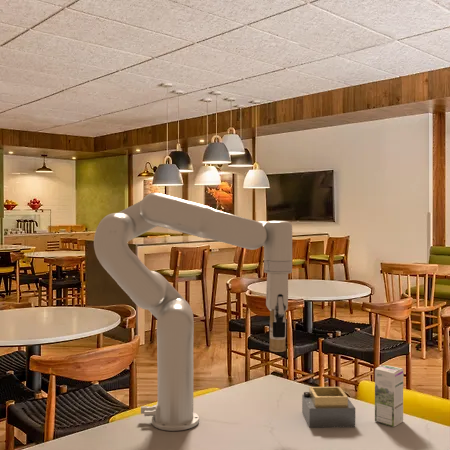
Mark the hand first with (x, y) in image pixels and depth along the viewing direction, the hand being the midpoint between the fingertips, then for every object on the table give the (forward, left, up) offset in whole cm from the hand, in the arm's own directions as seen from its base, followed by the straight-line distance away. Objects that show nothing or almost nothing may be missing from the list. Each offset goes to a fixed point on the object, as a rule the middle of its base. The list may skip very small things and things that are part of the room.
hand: (277, 334), depth 147 cm
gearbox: (+14, 0, -23) cm, 27 cm away
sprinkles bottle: (0, 0, -5) cm, 5 cm away
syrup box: (+30, -2, -23) cm, 38 cm away
